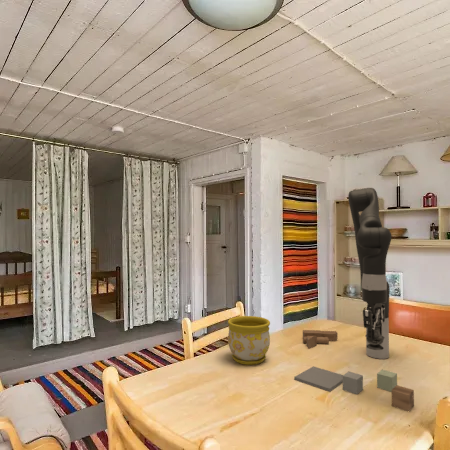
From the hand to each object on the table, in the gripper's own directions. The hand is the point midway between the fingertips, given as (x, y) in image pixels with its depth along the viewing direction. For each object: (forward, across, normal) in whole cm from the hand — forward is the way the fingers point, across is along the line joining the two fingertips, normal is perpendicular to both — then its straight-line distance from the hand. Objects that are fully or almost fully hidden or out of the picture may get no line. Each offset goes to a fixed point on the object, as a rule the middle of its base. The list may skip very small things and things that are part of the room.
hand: (374, 337), depth 115 cm
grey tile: (+19, 0, -20) cm, 27 cm away
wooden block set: (+20, -38, -39) cm, 58 cm away
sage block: (+19, -10, +1) cm, 22 cm away
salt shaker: (+3, 0, 0) cm, 3 cm away
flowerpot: (+20, +3, -52) cm, 55 cm away
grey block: (+19, 0, -8) cm, 21 cm away
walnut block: (+19, 0, +8) cm, 21 cm away
